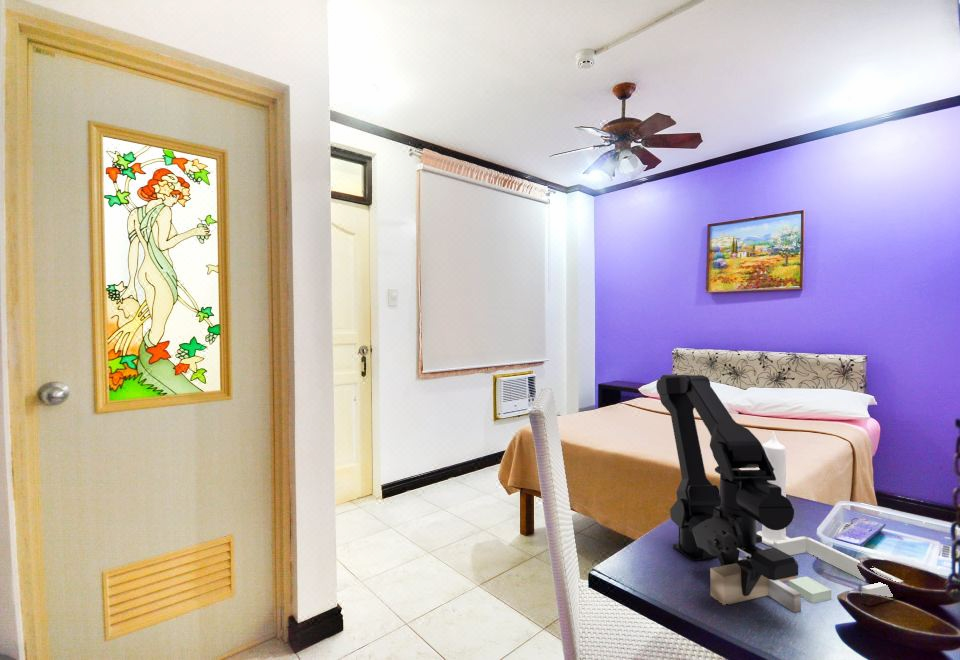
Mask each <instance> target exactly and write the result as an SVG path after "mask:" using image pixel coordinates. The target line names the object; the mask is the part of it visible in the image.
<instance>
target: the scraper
mask: <svg viewBox="0 0 960 660" xmlns="http://www.w3.org/2000/svg"><path fill="white" fill-rule="evenodd" d="M742 559H743V558H742V557H740V556H739V559H738V560H742ZM709 569H710V570H709V571H710V575H709V576H710V577H709V578H710V583H709V584H710V587H709V589H710V591H709V592H710V594H709V595H710V597H712V598H713V599H714V600H716V601H717V600H718V601H717V602H719V603H720V604H721V603H722V604H721V605H722V606H727V605H726V604H728V605H731V604H735V603H740V602H744V601H749V600H753V599H757V598H762V597H767V596H768V597H770V598H771V599H773V600H774V601H776V602H777V603H779V604H780V605H782V606H784V607H785V608H787V609H789V610H790V611H792V612H793V613H798V612H801V611H802V597H801V593H799V592H798V591H796V590H794V589H792V588H791V587H789V586H788V585H787V584H786V583H784V582H781V581H779V580H770V579H767V578H766V577H764V576H763V575H761V577H760V578H759V580H758V582H757V583H756V585H755V586H754V588H753V590H752V591H751V593H750V595H749V596H744V595H743V593H742V583H741V568H740V567H739V565H738V564H737V563H735V564H729V565H724V566H721V565H720V566H715V567H710V568H709Z"/></svg>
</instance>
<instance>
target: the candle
mask: <svg viewBox="0 0 960 660" xmlns="http://www.w3.org/2000/svg"><path fill="white" fill-rule="evenodd" d="M771 432H772V433H771V435H770V439H769V440H767V441H766V442H764V443H763V444H761V445H762V446H763V448H764V451H765V453H766V455H767V457H768V460H769V461H770V463H771V465H772V467H773V468H774V471H773V472H774V475H775V477H776V480H775V481H767V482H769V483H771V484H775V485H777V486H779V487H781V495H783V496H784V497H786V498H787V496H786V495H787V448H786V446H785V445H783V444H782V443H780V442H779V440H778V438H777V434H776V432H775V431H771ZM761 527H762V528H761V530H757V531H756V534H758V535H760V536H762V542H761V543H762V544H764V545H766V546H769V547H771V548H774V541H779V540H785V539H790V538H791V537H789V536H787V531H786V529H787V527H786V528H784V529H781V530H771V529H769V528H767V527H765V526H764V525H762V524H761Z"/></svg>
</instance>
